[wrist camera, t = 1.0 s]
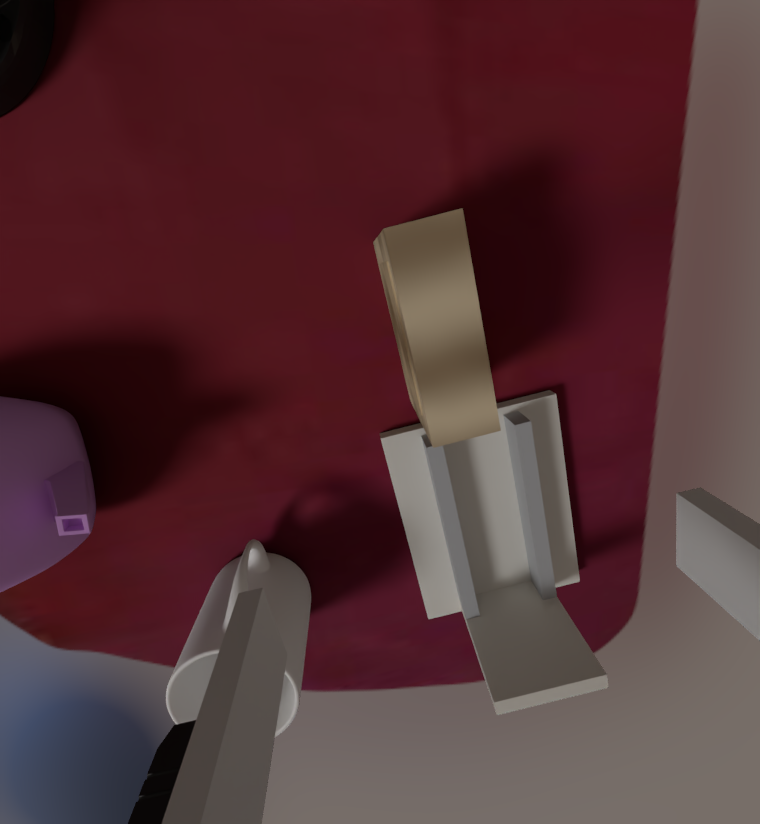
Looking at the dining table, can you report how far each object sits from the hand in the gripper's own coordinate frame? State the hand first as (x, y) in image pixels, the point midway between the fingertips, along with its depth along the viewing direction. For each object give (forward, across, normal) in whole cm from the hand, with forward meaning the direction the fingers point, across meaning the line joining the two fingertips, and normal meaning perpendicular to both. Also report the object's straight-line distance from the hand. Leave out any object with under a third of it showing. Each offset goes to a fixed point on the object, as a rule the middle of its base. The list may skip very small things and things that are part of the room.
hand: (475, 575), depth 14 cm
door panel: (+22, +3, +5) cm, 23 cm away
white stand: (+22, +5, -12) cm, 25 cm away
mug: (+22, -15, -13) cm, 30 cm away
